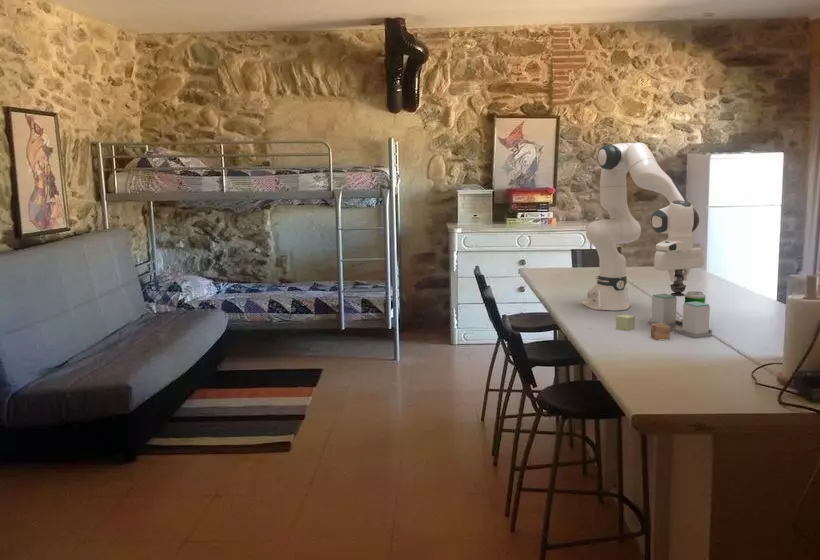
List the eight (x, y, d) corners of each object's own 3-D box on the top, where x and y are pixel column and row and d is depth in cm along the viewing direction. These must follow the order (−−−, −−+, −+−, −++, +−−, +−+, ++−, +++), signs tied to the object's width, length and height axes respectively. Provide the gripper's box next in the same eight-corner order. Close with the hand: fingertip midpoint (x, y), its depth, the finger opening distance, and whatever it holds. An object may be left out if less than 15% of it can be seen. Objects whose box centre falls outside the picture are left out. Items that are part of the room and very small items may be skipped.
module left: (651, 321, 298) (652, 294, 297) (663, 319, 300) (664, 293, 299) (663, 324, 292) (663, 297, 290) (675, 323, 294) (676, 296, 292)
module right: (682, 330, 282) (683, 302, 280) (695, 328, 284) (696, 301, 282) (695, 334, 275) (696, 305, 273) (708, 332, 277) (709, 304, 275)
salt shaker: (682, 293, 289) (684, 262, 287) (688, 296, 283) (689, 264, 281) (667, 293, 289) (668, 262, 287) (672, 296, 283) (674, 264, 281)
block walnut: (650, 337, 278) (651, 323, 277) (663, 336, 278) (664, 323, 277) (656, 340, 273) (656, 326, 272) (669, 339, 273) (670, 326, 272)
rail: (648, 323, 299) (648, 318, 298) (665, 322, 301) (665, 316, 301) (694, 338, 274) (694, 332, 274) (711, 335, 277) (711, 330, 277)
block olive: (616, 328, 292) (616, 316, 291) (623, 326, 295) (623, 314, 294) (627, 331, 288) (627, 318, 287) (634, 328, 291) (635, 316, 290)
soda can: (691, 325, 295) (692, 294, 294) (680, 321, 303) (681, 291, 301) (708, 323, 297) (709, 293, 296) (696, 319, 305) (697, 290, 303)
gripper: (696, 242, 289) (695, 277, 291) (652, 245, 282) (650, 281, 284) (708, 243, 283) (706, 280, 285) (663, 246, 276) (661, 284, 278)
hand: (678, 280), depth 285 cm, fingers closed on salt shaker, 3 cm apart
